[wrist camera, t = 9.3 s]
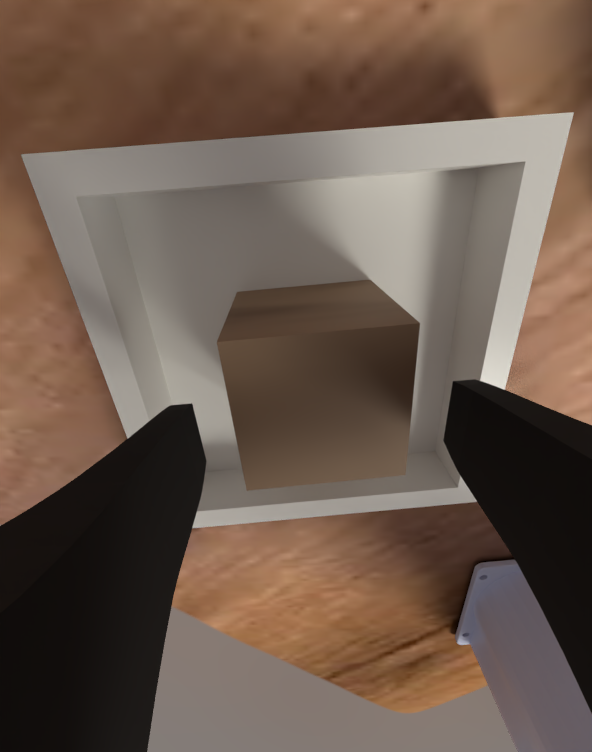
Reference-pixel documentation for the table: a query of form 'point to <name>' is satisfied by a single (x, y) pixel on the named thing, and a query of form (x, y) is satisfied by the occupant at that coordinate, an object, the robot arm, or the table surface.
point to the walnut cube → (319, 383)
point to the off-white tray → (304, 271)
